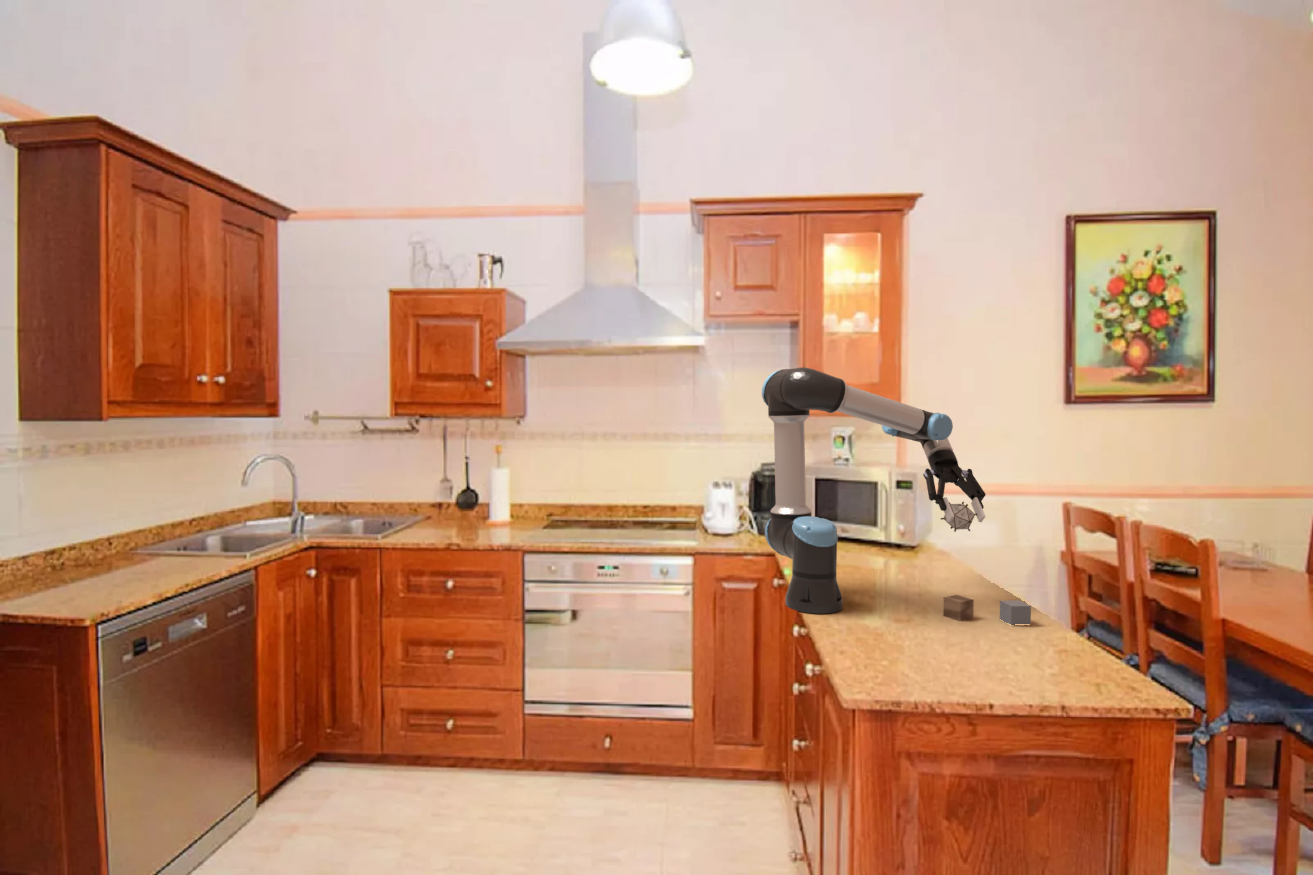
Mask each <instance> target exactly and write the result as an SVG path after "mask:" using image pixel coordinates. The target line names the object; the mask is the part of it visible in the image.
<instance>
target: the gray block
mask: <svg viewBox="0 0 1313 875" xmlns="http://www.w3.org/2000/svg"><path fill="white" fill-rule="evenodd" d="M1031 617H1032V606H1031V605H1030V604H1027V603H1026V602H1023V601H1022V600H1017V599H1016V600H999V620H1000V619H1001V620H1003V621H1004V622H1003V621H1002V622H1003V623H1005V622H1006V623H1009V624H1011V625H1015V624H1031V623H1032V621H1031V619H1032V618H1031ZM1001 620H1000V621H1001ZM1006 623H1005V624H1006Z"/></svg>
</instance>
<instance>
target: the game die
mask: <svg viewBox="0 0 1313 875" xmlns="http://www.w3.org/2000/svg"><path fill="white" fill-rule="evenodd" d="M948 502H949V504H950V507H951V509H952V512H953V514H954V518H953V520H952V521H951V522H948V520H947V518H946V515H945V514H944V516H943V517H941V518H940V520H941V521H942V520H944V521H945V523H947V524H948V525H949V526H950V529H954V530H953V531H954V533H956V532H957V530H967V531H968V532H971V529H970V527H971V525H972V523H973V520H974V518H975V516H976V515H977V513H976V514H975V512H973V511H972V509H970V508H969V504H968V503H966V504H965V502H964V501H962V502H961V503H951V502H950V501H948Z"/></svg>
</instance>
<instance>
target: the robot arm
mask: <svg viewBox="0 0 1313 875" xmlns="http://www.w3.org/2000/svg"><path fill="white" fill-rule="evenodd" d="M761 397H762V400H763V402H764V403H765V405H766V406H767V412H768V414H767V415H768V418H769V419H770V420H771V421H772V422H773V436H774V439H773V442H774V446H773V447H774V448H773V449H774V486H775V487H774V488H775V495H774V496H775V505H774V506H773V507H771V509H770V518H769V519H768V521H767V522H766V525H765V528H764V536H765V537H764V538H765V539H766V543H767V544H768V546H769V547H770V548H771V549H772V550H773V551H775V552H776V553H777V554H779V555H781V556H785V557H786V558H788V559H790V560H792V570H791V571H792V574H791V579H790V582H789V585H788V588H787V591H786V593H785V603H784V604H785V606H786V607H787V608H788V609H791V610H794V611H796V612H800V613H807V614H808V613H809V614H817V615H818V614H819V615H820V614H821V615H823V614H832V613H837V612H840V611H842V610H843V609H844V608H843V607H844V606H843V605H844V604H843V603H844V602H843V601H844V600H843V597H842V596H843V595H842V594H841V591H840V587H839V584H838V581H837V580H838V578H837V566H838V565H837V561H838V554H837V553H838V540H839V536H838V528H837V525H836V524H835V522H833V521H831V520H829V519H827V518H824V517H818V516H812V510H811V508H810V507H808V505H807V502H806V448H805V445H806V444H805V442H806V440H805V439H806V438H805V437H806V436H805V422H806V420H807V419H808V418H809V417H810V410H811V411H820V412H825V413H829V414H834V413H836V412H838V413H841V414H845V415H847V416H851V417H855V418H858V419H862V420H863V421H867V422H871V423H875V424H877V425H881V429H882V432H883V433H884V434H886V435H890V436H892V437H897V438H901V439H906V440H911V441H914V442H916V443H917V442H918V443H920V444H921V447H922V449H923V451H924V454H925V456H926V459H927V462H928V464H929V467H930V468H925V470H924V472H923V473H922V476H923V478H924V479H925V481H926V487H927V492H928V500H929V501H931V502H933V501H934V503H935V504H936V505H938V506H939V509H940V511H942V512H943V513H944V516H945V515H946V518H947V520H948V522H951V521H952V520H953V518H954V514H953V512H952V509H951V507H950V504H951V503H950V504H949V502H950V501H949V500H948V497H947V496H946V497H944V496H945V486H946V484H948V483H951V484H953V485H955V486H956V487H958V488H959V489H960V490H961V491H962V492H963V493H964V494H965V495H966V496H967V497H968V498H969V499H970V500H971V502H970V504H971V507H972V509H973V511H974V512H973V513H974V514H976V513H977V515H975V516H976V519H977V521H978V522H979V523H982V522H983V521H984V520H985V518H986V514H985V512H984V508H985V506H984V504H983V502H982V501H983V499H984V498H985V497H986V495H987V494H986V492H985V490H983V488H982V486H981V485H980V483H979V482H978V480H977V479H976V477H975V476H974V474H973V470H972V469H971V468H967V470H965V469H962V468H961V467H960V466H959V461H958V459H957V457H956V455H955V452H954V449H953V447H952V445H951V443H950V441H949V437H950V435H951V434H952V431H953V428H954V426H953V420H952V419H951V418H950V416H949V415H947V414H945V413H940V412H933V411H927V410H925V409H921V408H918V407H915V406H912V405H909V404H906V403H903V402H900V401H897V400H894V399H891V398H887V397H884V396H881V395H878V394H875V393H872V392H869V391H866V390H864V389H860V388H857V387H854V386H851V385H848V384H846V381H845V380H844V379H843V378H839V377H836V376H833V375H830V374H828V373H825V372H822V371H819V370H817V369H814V368H809V367H805V366H804V367H797V368H782V369H780V370H776V371H774V372H772V373H771V374H770V375H768V376H767V377H766V379H765V380H764V382H763V385H762V387H761ZM934 477H935V478H937V481H938V483H937V490H936V484H935V478H934Z"/></svg>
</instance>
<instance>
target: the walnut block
mask: <svg viewBox="0 0 1313 875" xmlns="http://www.w3.org/2000/svg"><path fill="white" fill-rule="evenodd" d="M974 601H975V600H974V598H969V597H966V596H962V595H959V594H954V595H948V596H944V597H943V611H942V612H943V614H942V616H943V617H946V618H949V619H952V620H955V621H958V622H962V621H968V620H972V619H974V603H975V602H974Z"/></svg>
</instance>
